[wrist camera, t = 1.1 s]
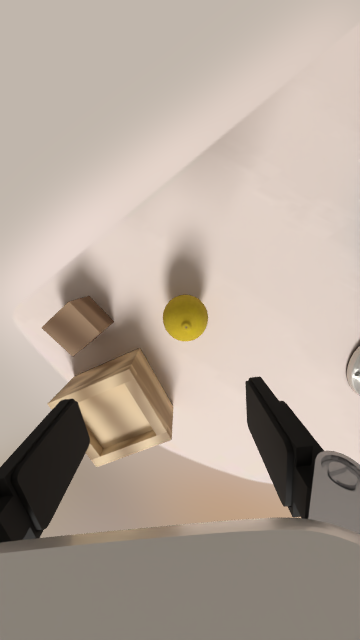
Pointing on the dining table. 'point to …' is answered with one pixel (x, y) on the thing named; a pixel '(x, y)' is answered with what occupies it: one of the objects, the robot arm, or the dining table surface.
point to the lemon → (185, 317)
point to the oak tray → (120, 407)
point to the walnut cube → (77, 324)
